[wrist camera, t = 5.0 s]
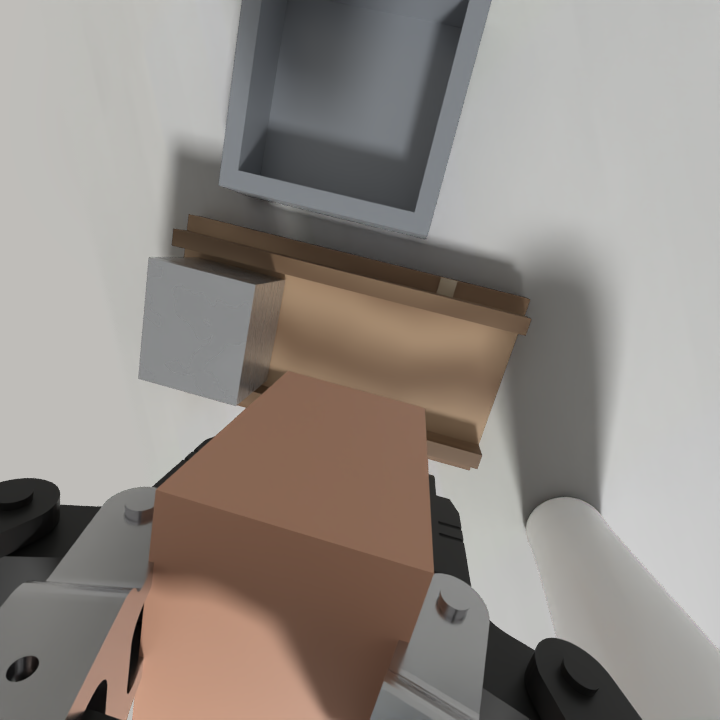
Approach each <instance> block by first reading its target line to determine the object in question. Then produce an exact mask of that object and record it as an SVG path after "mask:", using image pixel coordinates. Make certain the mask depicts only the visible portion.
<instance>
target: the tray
mask: <svg viewBox="0 0 720 720" xmlns="http://www.w3.org/2000/svg"><path fill="white" fill-rule="evenodd" d="M491 1H492V0H242V5H241V13H240V20H239V28H238V36H237V44H236V52H235V60H234V68H233V76H232V83H231V91H230V99H229V107H228V115H227V123H226V131H225V139H224V146H223V154H222V162H221V170H220V178H219V186H222V187H225V188H228V189H230V190H233V191H236V192H238V193H241V194H244V195H247V196H250V197H254V198H258V199H263V200H267V201H271V202H275V203H279V204H283V205H287V206H291V207H295V208H300V209H304V210H308V211H312V212H316V213H320V214H324V215H328V216H332V217H336V218H341V219H345V220H349V221H353V222H357V223H361V224H365V225H369V226H373V227H378V228H382V229H386V230H390V231H394V232H398V233H402V234H406V235H410V236H414V237H419V238H423V239H426V238H427V236H428V232H429V229H430V225H431V221H432V218H433V214H434V210H435V207H436V203H437V199H438V196H439V192H440V188H441V185H442V181H443V177H444V173H445V170H446V166H447V162H448V159H449V155H450V151H451V148H452V144H453V140H454V137H455V133H456V129H457V126H458V122H459V118H460V115H461V111H462V107H463V104H464V100H465V96H466V93H467V89H468V85H469V82H470V78H471V74H472V71H473V67H474V63H475V59H476V56H477V52H478V48H479V45H480V41H481V37H482V34H483V30H484V26H485V23H486V19H487V15H488V12H489V8H490V4H491Z"/></svg>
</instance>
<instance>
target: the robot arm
mask: <svg viewBox="0 0 720 720" xmlns="http://www.w3.org/2000/svg"><path fill="white" fill-rule="evenodd" d="M213 438H214V437H212V438H209V439H207V440H205V441H204V442H203V443H201V444H200V445H199V446H198V447H197V448H196V449H195V450H194V452H191V453H190V454H189V455H188V456H187V457H186V458H185V460H182V461H181V462H180V463H179V464H178V465H176V466H175V467H174V468H173V469H172V470H171V471H170V472H168V473H167V474H166V475H165V476H164V477H163V478H162V479H160V480H159V481H158V482H157V483H156V484H155V485H154V486H152V487H138V488H132V489H128V490H125V491H122V492H120V493H118V494H116V495H114V496H112V497H111V498H110V499H108V500H107V501H106V502H105V503H104V505H103V506H102V507H94V506H74V505H60V491H59V489H58V487H57V486H56V485H55V484H53V483H52V482H49V481H46V480H42V479H34V478H23V479H14V480H8V481H3V482H0V720H127V717H128V714H129V710H130V708H131V705H132V702H133V699H134V697H135V694H136V691H137V689H138V686H139V683H140V681H141V678H142V671H143V661H144V657H141V656H139V649H140V639H141V629H142V619H143V610H144V602H145V600H146V598H147V595H148V593H149V591H150V589H151V586H152V577H153V568H154V563H153V562H150V561H149V551H150V541H151V531H152V521H153V512H154V502H155V492H156V489H157V488H158V487H159V486H160V485H162V484H163V483H164V482H165V481H166V480H167V479H168V478H169V477H170V476H172V475H173V474H174V473H175V472H176V471H177V470H178V469H179V468H180V467H182V466H183V465H184V464H185V463H186V462H187V461H188V460H189V459H190V458H192V457H193V456H194V455H195V454H196V453H197V452H198V451H199V450H200V449H202V448H203V447H204V446H205V445H206V444H207V443H208V442H209V441H210V440H212V439H213ZM429 492H430V510H431V527H432V545H433V563H434V575H433V578H432V581H431V583H430V586H429V589H428V592H427V595H426V597H425V600H424V603H423V606H422V609H421V611H420V614H419V617H418V620H417V623H416V625H415V628H414V631H413V634H412V636H411V639H410V642H409V643H408V642H405V641H401V640H399V641H398V643H397V646H396V649H395V652H394V655H393V657H392V660H391V663H390V666H389V669H388V671H387V673H386V676H385V679H384V682H383V684H382V687H381V690H380V693H379V696H378V698H377V701H376V704H375V707H374V710H373V712H372V715H371V718H370V720H642V719H641V717H640V716H639V714H638V713H637V712H636V710H635V709H634V707H633V706H632V705H631V703H630V702H629V701H628V699H627V698H626V696H625V695H624V694H623V692H622V691H621V690H620V688H619V687H618V685H617V684H616V683H615V681H614V680H613V679H612V677H611V676H610V675H609V673H608V672H607V671H606V670H605V668H604V667H603V666H602V665H601V664H600V663H599V662H598V661H597V660H596V659H595V658H593V657H592V656H591V655H590V654H588V653H587V652H586V651H584V650H583V649H581V648H580V647H578V646H576V645H575V644H573V643H571V642H568V641H565V640H562V639H558V638H547V639H544V640H542V641H541V642H539V644H538V645H537V647H536V649H535V650H533V649H532V648H530V647H528V646H527V645H525V644H523V643H521V642H520V641H518V640H516V639H515V638H513V637H511V636H510V635H508V634H507V633H505V632H503V631H502V630H501V629H499V628H498V627H497V626H495V625H494V624H493V623H492V622H491V621H490V620H489V612H488V609H487V607H486V605H485V603H484V601H483V600H482V598H481V597H480V595H479V594H478V593H477V592H476V591H475V590H474V589H473V588H472V587H471V583H470V577H469V571H468V565H467V559H466V553H465V547H464V543H463V535H462V531H461V523H460V516H459V513H458V511H457V510H456V508H455V507H454V505H453V504H452V502H451V501H450V499H447V498H443V497H440V496H436V489H435V478H434V476H433V475H429Z"/></svg>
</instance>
